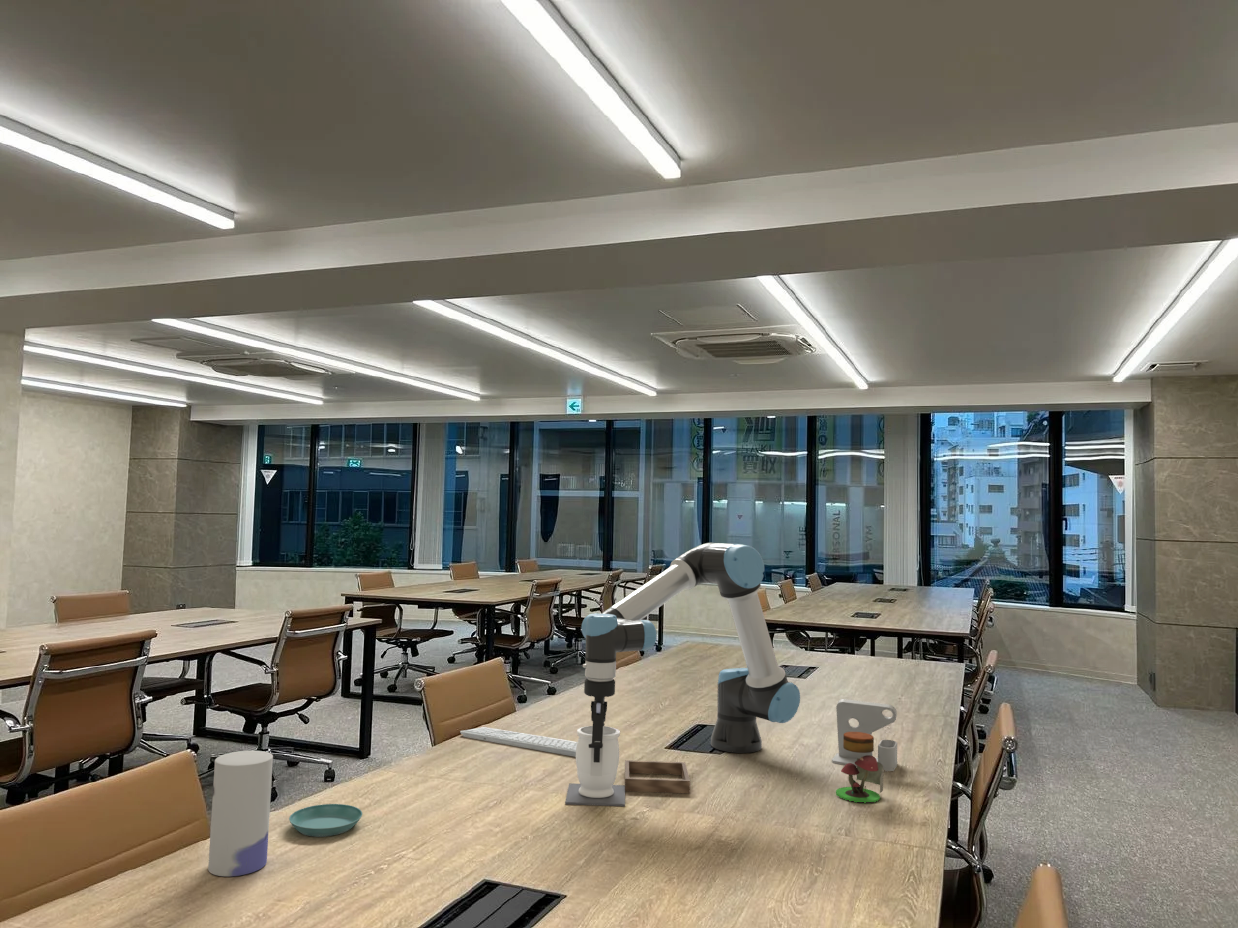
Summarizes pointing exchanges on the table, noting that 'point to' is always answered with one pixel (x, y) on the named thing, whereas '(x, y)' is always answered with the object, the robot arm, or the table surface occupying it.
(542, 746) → the keyboard
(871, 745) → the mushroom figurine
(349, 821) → the saucer
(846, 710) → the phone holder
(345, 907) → the table surface
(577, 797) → the felt pad
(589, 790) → the jar
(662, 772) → the holder frame
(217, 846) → the container
